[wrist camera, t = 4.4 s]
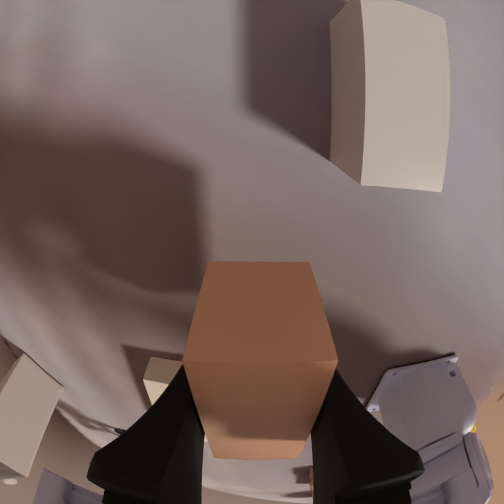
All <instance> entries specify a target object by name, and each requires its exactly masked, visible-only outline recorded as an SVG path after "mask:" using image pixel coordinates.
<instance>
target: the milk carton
mask: <svg viewBox="0 0 504 504" xmlns="http://www.w3.org/2000/svg"><path fill="white" fill-rule="evenodd" d="M63 389H64V388H63V387H62V386H61V385H60V384H59V383H57V382H56V381H55V380H54V379H53V378H51V377H50V376H49V375H48V374H47V373H46V372H45V371H43V370H42V369H41V368H40V367H39V366H38V365H37V364H36V363H35V362H33V361H32V360H31V359H30V358H29V357H28V356H27V355H26V354H25V353H23V354H22V355H21V356H20V357H19V358H18V359H17V360H16V361H15V362H14V363H13V365H12V366H11V368H10V370H9V371H8V373H7V375H6V377H5V378H4V380H3V382H2V383H1V385H0V480H1V479H3V482H4V483H5V484H17V483H18V482H17V480H16V479H18V478H27V477H28V474H29V472H30V469H31V466H32V463H33V460H34V457H35V455H36V452H37V449H38V446H39V444H40V441H41V439H42V436H43V434H44V431H45V429H46V427H47V424H48V422H49V420H50V417H51V415H52V413H53V410H54V408H55V406H56V404H57V402H58V400H59V397H60V395H61V393H62V391H63Z"/></svg>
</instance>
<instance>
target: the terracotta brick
mask: <svg viewBox="0 0 504 504" xmlns="http://www.w3.org/2000/svg"><path fill="white" fill-rule="evenodd" d="M182 361H183V365H184V368H185V372H186V375H187V379H188V382H189V385H190V389H191V392H192V395H193V399H194V402H195V405H196V408H197V411H198V414H199V417H200V420H201V423H202V426H203V429H204V432H205V435H206V437H207V440H208V443H209V446H210V448H211V451H212V454H213V456H214V458H220V459H241V460H272V459H294V458H299V456H300V454H301V452H302V450H303V447H304V445H305V443H306V441H307V439H308V437H309V434H310V432H311V430H312V427H313V425H314V423H315V420H316V418H317V416H318V413H319V411H320V408H321V406H322V403H323V401H324V398H325V396H326V393H327V391H328V388H329V385H330V383H331V380H332V377H333V374H334V371H335V369H336V366H337V363H338V357H337V353H336V349H335V346H334V342H333V339H332V335H331V331H330V328H329V324H328V321H327V318H326V314H325V311H324V307H323V304H322V301H321V297H320V294H319V291H318V288H317V284H316V281H315V278H314V275H313V272H312V268H311V265H310V262H222V261H208V264H207V267H206V271H205V274H204V278H203V282H202V285H201V289H200V293H199V296H198V300H197V304H196V308H195V312H194V315H193V319H192V323H191V327H190V331H189V335H188V339H187V343H186V347H185V351H184V355H183V359H182Z"/></svg>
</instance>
